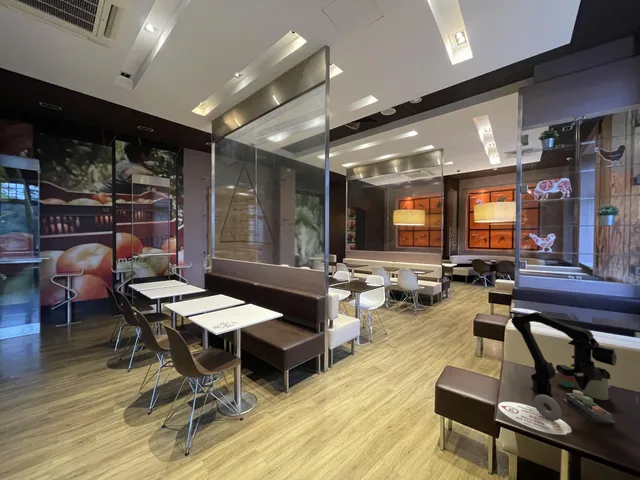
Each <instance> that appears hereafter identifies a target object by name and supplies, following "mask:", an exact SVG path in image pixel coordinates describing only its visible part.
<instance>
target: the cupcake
mask: <svg viewBox="0 0 640 480" xmlns="http://www.w3.org/2000/svg"><path fill="white" fill-rule="evenodd" d="M569 368H572V364H570V365H569ZM555 377H557V378H558V379H559V381H560V384H561V385H562V386H563V385H564V386H563V387H566V388H570V387H572V388H574V386H575V384H576V383H577V381H576V380H575V378H574V376H565V375H563V374H561V373H560V372H558V371H557V372H556V375H555Z"/></svg>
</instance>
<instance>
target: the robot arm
mask: <svg viewBox="0 0 640 480" xmlns="http://www.w3.org/2000/svg"><path fill="white" fill-rule="evenodd" d="M535 321H536V322H537V323H540V324H543V325H545V326H547V327H550V328H551V329H554V330H557V331H558V332H561V333H563V334H564V335H566V336H567V337H569V338H570V339H571V341H569V342H567V343H568V345H571V346H573V355H571V358H572V359H573V363H571V365H572V367H573V368H572V367H571V368H570V366H568V365H566V364H556V366H555V368H554V366H553V363H552V361H551V362H548V361H547V360H546V359H545V357H544V355H543V352H542V350H541V349H540V346H539V345H538V343H537V340H536V338H535V336H534V334H533V333H532V331H531V330H532V329H531V328H532V327H531V323H532V322H535ZM511 323H512V325H513V327H514V328H515V329H516V330H517V331H518V332H519V333H520V334H521V337H522V338H523V340H524V343H525V345H526V347H527V349H528V351H529V353H530V356H531V357H532V359H533V362H534V370H535V372H534V373H533V374H531V375H530V377H531V380H532V386H530V389H531V390H533V391H534V392H535V393H537V395H540V394H541V395H547V396H553V395H554V394H553V393H552V383H551V381H550V380H552V379H553V378H554V377H556V374H557V372H560V373H561V374H563V375H565V376H574V378H575V380H576V381H577V382H576V383H577V385H578V387H579V389H580V390H581V391H582V390H584V389H585V388H586V386H587V384H588V383H589V382H590V380H599V381H602V379H603V378H604V379H608V380H611V374H610V372H609V371H608V370H607V369H605V368H603V367H602V368H601V367H600V366H599V367H598V366H595V361H596V362H600V363H602V364H606V365H610V366H613V367H615V366H616V363H617V359H618V357H617V354H616V352H615V349H613V348H609V347H608V348H607V347H603V346H600V343H599V342H598V341H597V340H596V338H595V337H594V335H593V333H592V331H591V330H589V329H587V328H584V327H581V326H575V325H571V324H567V323H565V322H562V321H560V320H557V319H555V318H553V317H550V316H547V315H545V314H542V313H541V312H539V311H535V312H534V311H533V312H531V313H528V314H526V315H525V314H518V315H515V316H513V317H512V318H511ZM592 359H593V360H592ZM556 371H557V372H556Z"/></svg>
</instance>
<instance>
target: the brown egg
mask: <svg viewBox="0 0 640 480" xmlns="http://www.w3.org/2000/svg"><path fill="white" fill-rule="evenodd" d="M603 409H604V408H603V407H601V408H600V406H599V407H597V406H592V410H593V411H594V412H596V413H604V410H605V409H604V410H603Z"/></svg>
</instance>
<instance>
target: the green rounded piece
mask: <svg viewBox="0 0 640 480" xmlns="http://www.w3.org/2000/svg"><path fill="white" fill-rule="evenodd" d="M582 403H583V404H584V405H585V406H593V403H594V398H593V397H590V396H588V395H583V396H582Z"/></svg>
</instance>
